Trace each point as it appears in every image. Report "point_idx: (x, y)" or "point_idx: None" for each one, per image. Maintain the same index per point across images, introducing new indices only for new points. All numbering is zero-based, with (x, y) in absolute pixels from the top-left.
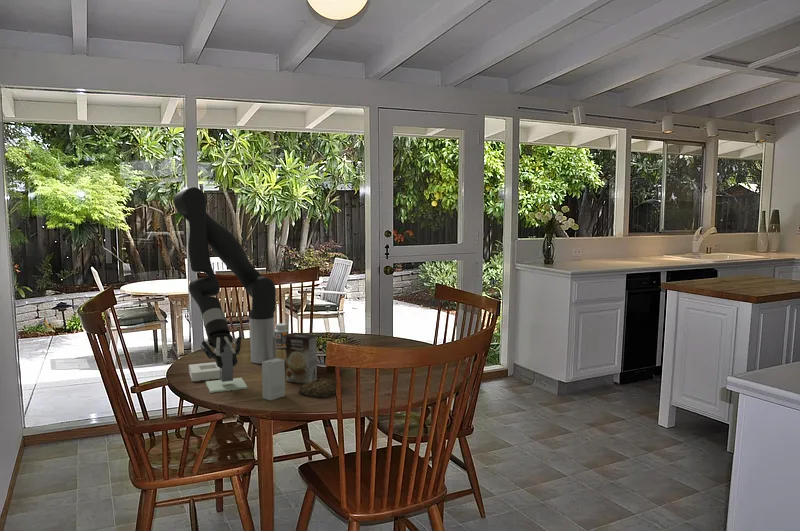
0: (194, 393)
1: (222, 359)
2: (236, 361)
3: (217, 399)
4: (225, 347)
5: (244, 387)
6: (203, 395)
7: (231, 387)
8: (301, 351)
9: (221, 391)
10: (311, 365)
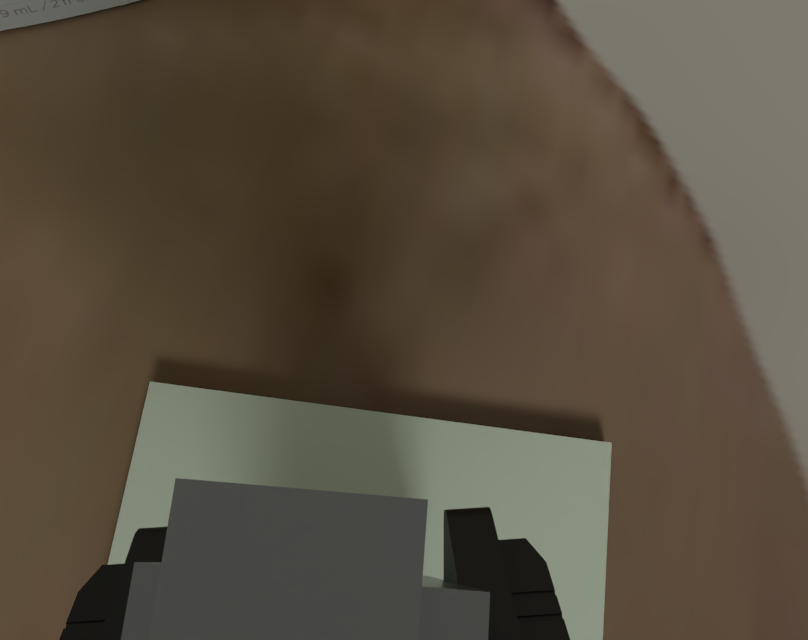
0: (779, 540)
1: (442, 583)
2: (113, 579)
3: (571, 185)
4: (373, 498)
5: (188, 387)
6: (688, 400)
7: (332, 459)
8: None
9: (470, 426)
10: None
